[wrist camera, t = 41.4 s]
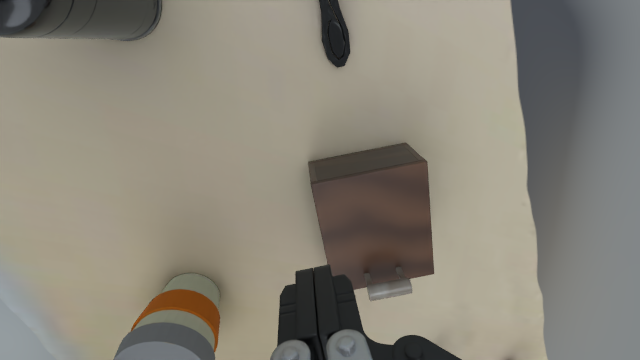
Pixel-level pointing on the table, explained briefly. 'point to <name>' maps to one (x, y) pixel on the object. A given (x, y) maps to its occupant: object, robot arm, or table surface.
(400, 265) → the case lid
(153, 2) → the robot arm
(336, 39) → the hairbrush
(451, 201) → the table surface
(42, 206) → the table surface
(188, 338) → the reusable coffee cup
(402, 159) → the case
